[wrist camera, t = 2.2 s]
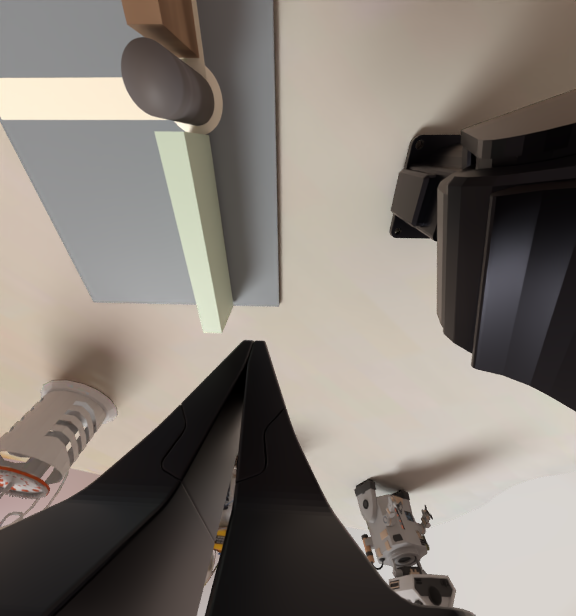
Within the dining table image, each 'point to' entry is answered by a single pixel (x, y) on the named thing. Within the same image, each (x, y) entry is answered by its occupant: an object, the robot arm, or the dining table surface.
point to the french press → (51, 439)
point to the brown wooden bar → (165, 62)
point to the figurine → (401, 546)
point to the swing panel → (198, 222)
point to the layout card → (142, 144)
